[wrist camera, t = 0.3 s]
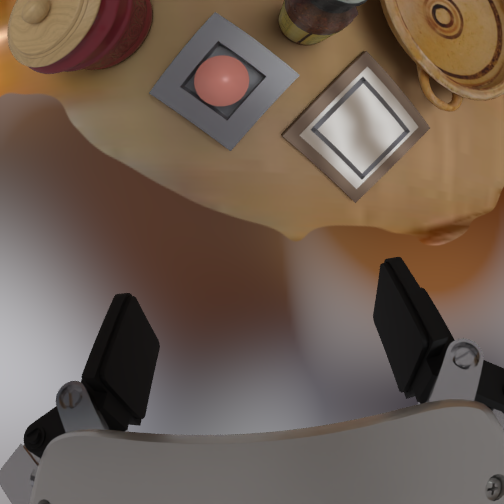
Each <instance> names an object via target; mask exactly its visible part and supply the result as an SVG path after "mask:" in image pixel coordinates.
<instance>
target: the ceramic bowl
mask: <svg viewBox="0 0 504 504" xmlns="http://www.w3.org/2000/svg"><path fill="white" fill-rule="evenodd" d="M380 2H381V6H382V9H383V13H384V15H385V17H386V20H387V22H388V25H389V27H390V28H391V30H392V32H393V34H394V36H395V37H396V39H397V41H398V42H399V43H400V45H401V46H402V48H403V49H404V50H405V52H406V53H407V54H408V55H409V56H410V58H411V59H412V60H413V61H414V62H415V63H416V65H417V72H418V78H419V82H420V85H421V88H422V90H423V93H424V94H425V96H426V97H427V99H428V100H429V101H430V102H431V103H432V104H434V105H435V106H436V107H438V108H439V109H442V110H445V111H455V110H457V109H458V108H459V107H460V105H461V103H462V100H463V97H465V98H468V99H472V100H490V99H494V98H497V97H499V96H501V95H502V94H504V0H380ZM430 77H432V78H433V79H435V80H436V81H437V82H438V83H440V84H441V85H442V86H444V87H445V88H447V89H448V90H450V91H451V92H452V100H451V102H450V103H448V104H447V103H445V102H443V101H441V100H440V99H438V98H437V97H436V96H435V95H434V93H433V92H432V90H431V87H430V83H429V78H430Z"/></svg>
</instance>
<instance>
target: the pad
mask: <svg viewBox="0 0 504 504" xmlns="http://www.w3.org/2000/svg"><path fill="white" fill-rule="evenodd" d="M429 129H430V127H429V126H428V124H427V123H426V121H425V120H424V119H423V117H422V116H421V115H420V113H419V112H418V111H417V109H416V108H415V107H414V105H413V104H412V103H411V102H410V100H409V99H408V98H407V96H406V95H405V94H404V93H403V92H402V90H401V89H400V88H399V87H398V85H397V84H396V83H395V82H394V81H393V80H392V78H391V77H390V76H389V75H388V74H387V73H386V72H385V70H384V69H383V68H382V67H381V66H380V65H379V64H378V63H377V62H376V61H375V60H374V59H373V57H372V56H371V55H370V54H369V53H368V52H367V51H363V52H362V53H361V54H360V55H359V56H358V57H357V58H356V59H355V60H354V61H353V62H352V63H351V64H350V65H349V66H347V67H346V68H345V69H344V70H343V71H342V72H341V73H340V74H339V75H338V76H337V77H336V78H335V79H334V80H333V81H332V82H331V83H330V84H329V85H328V86H327V87H326V88H325V89H324V90H323V91H322V92H321V93H320V94H319V95H318V97H317V98H316V99H315V100H314V101H313V102H312V103H311V104H310V105H309V106H308V107H307V108H306V109H305V110H304V111H303V112H302V113H301V114H300V115H299V116H298V117H297V118H296V119H295V120H294V122H293V123H292V124H291V125H290V126H289V127H288V128H287V129H286V130H285V131H284V132H283V133H282V136H283V137H284V138H285V139H286V140H288V141H289V142H290V143H291V144H292V145H293V146H295V147H296V148H297V149H298V150H299V151H300V152H301V153H303V154H304V155H305V156H306V157H307V158H308V159H309V160H310V161H312V162H313V163H314V164H315V165H316V166H317V167H318V168H319V169H320V170H321V171H323V172H324V173H325V174H326V175H327V176H328V177H329V178H330V179H331V180H332V181H333V182H334V183H335V184H336V185H337V186H338V187H340V188H341V189H342V190H343V191H344V192H345V193H346V194H347V195H348V196H349V197H350V198H351V199H352V200H353V201H354V202H355V203H356V202H357V201H358V200H359V199H360V198H361V197H362V196H363V195H364V194H365V193H366V192H367V191H368V190H369V189H370V188H371V187H372V186H373V185H374V184H375V183H376V182H377V181H378V180H379V179H380V178H381V177H382V176H383V175H384V174H385V173H386V172H387V171H388V170H389V169H390V168H391V167H392V166H393V165H394V164H395V163H396V162H397V161H398V160H399V159H400V158H401V157H402V156H403V155H404V154H405V153H406V152H407V151H408V150H409V149H410V148H411V147H412V146H413V145H414V144H415V143H416V142H417V141H418V140H419V139H420V138H421V137H422V136H423V135H424V134H425V133H426V132H427V131H428V130H429Z"/></svg>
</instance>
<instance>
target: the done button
mask: <svg viewBox="0 0 504 504" xmlns="http://www.w3.org/2000/svg"><path fill="white" fill-rule="evenodd" d="M194 85H195V89H196V92H197V94H198V95H199V97H200V98H201V99H202V100H204V101H205V102H206V103H208V104H211V105H214V106H228V105H231V104H234V103H236V102H237V101H239V100H240V99H241V98H242V97H243V96H244V95H245V93H246V91H247V89H248V86H249V74H248V71H247V69H246V68H245V66H244V65H243V64H242V63H241V62H240V61H239V60H237V59H236V58H233V57H230V56H225V55H220V56H214V57H211V58H209V59H207V60H206V61H204V62H203V63H202V64H201V65H200V66H199V68H198V69H197V71H196V74H195V78H194Z"/></svg>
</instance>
